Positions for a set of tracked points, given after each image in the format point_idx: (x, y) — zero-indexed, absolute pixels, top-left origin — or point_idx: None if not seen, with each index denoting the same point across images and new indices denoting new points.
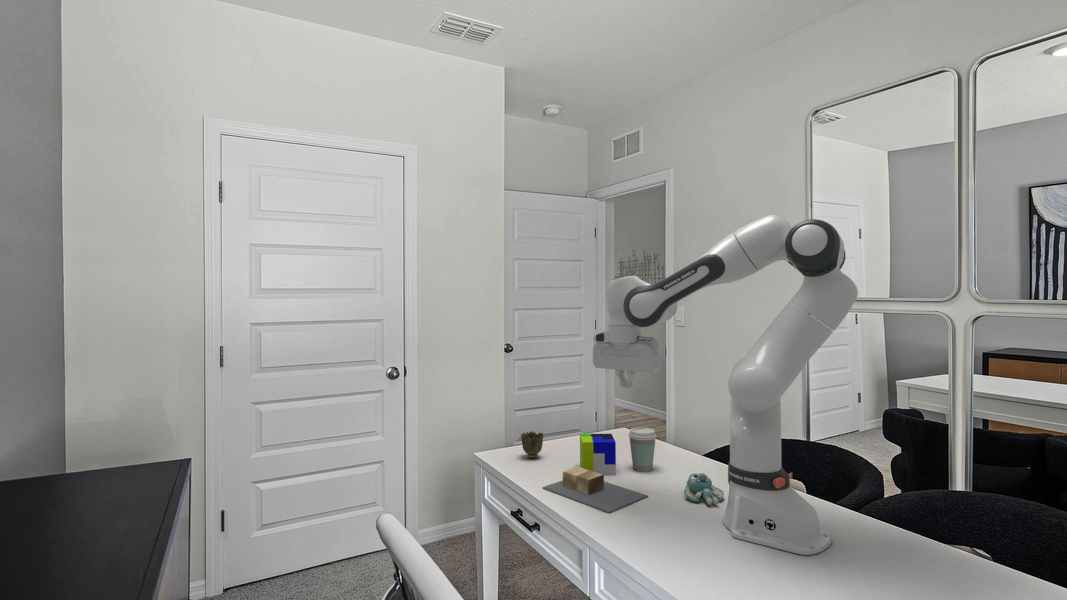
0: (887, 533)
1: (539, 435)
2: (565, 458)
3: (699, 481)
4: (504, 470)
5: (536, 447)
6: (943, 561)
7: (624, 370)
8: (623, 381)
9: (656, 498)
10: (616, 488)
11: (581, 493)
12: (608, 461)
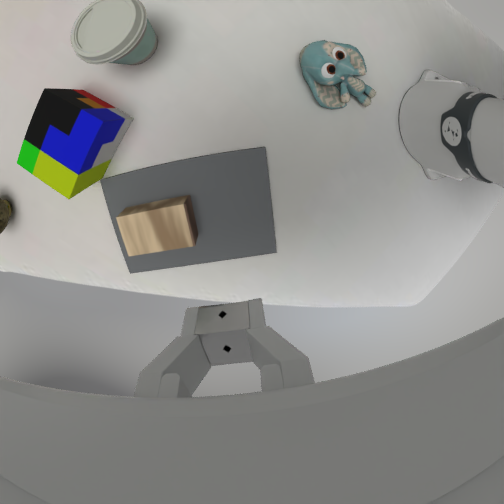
0: (494, 56)
1: None
2: None
3: (343, 78)
4: (44, 273)
5: (4, 217)
6: None
7: (179, 394)
8: (228, 360)
9: (279, 139)
10: (199, 171)
11: None
12: (114, 134)
